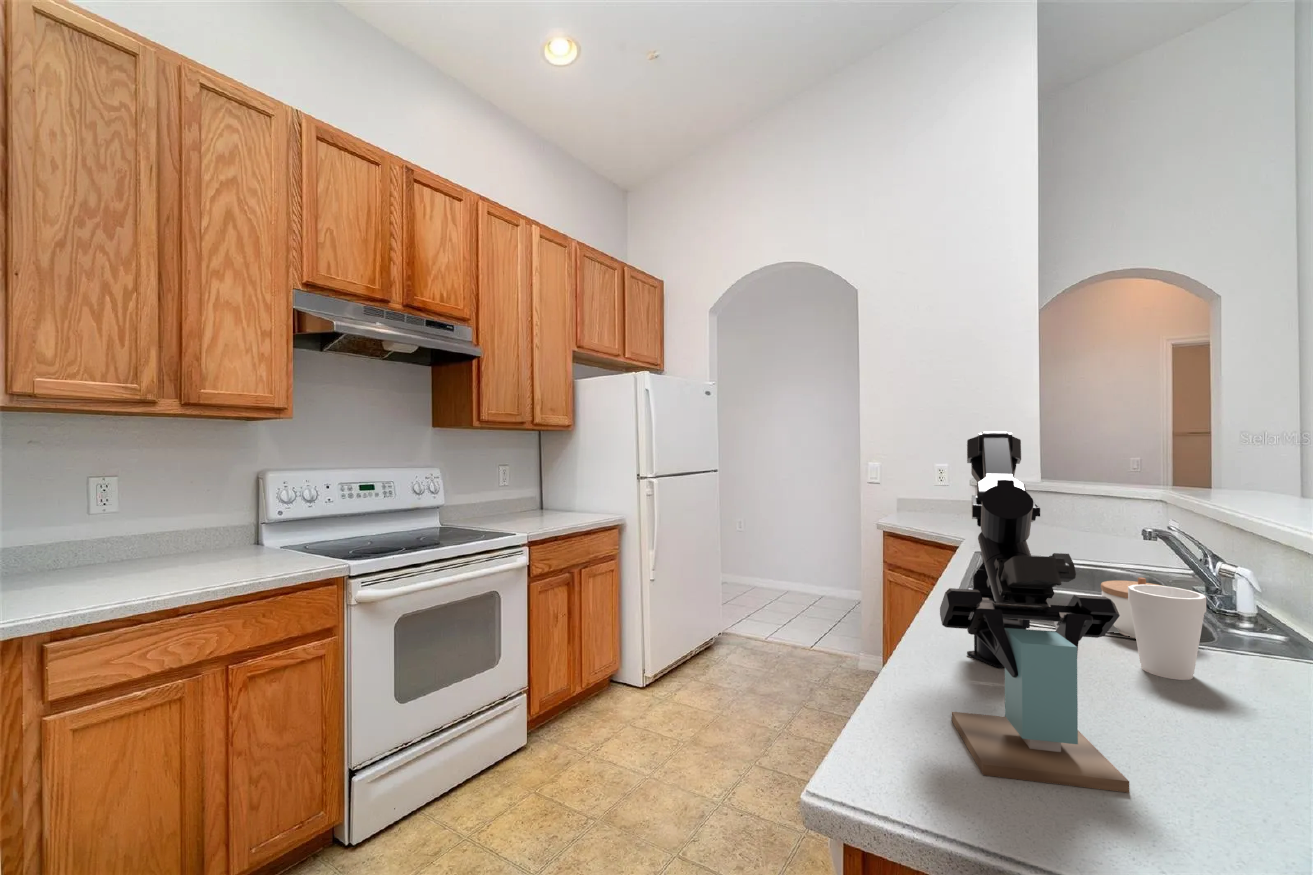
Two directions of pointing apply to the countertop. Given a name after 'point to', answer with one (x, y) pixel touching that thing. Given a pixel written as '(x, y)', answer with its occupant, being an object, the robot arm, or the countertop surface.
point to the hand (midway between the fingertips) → (1044, 678)
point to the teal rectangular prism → (1042, 686)
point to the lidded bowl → (1122, 603)
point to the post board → (1035, 755)
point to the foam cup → (1167, 628)
